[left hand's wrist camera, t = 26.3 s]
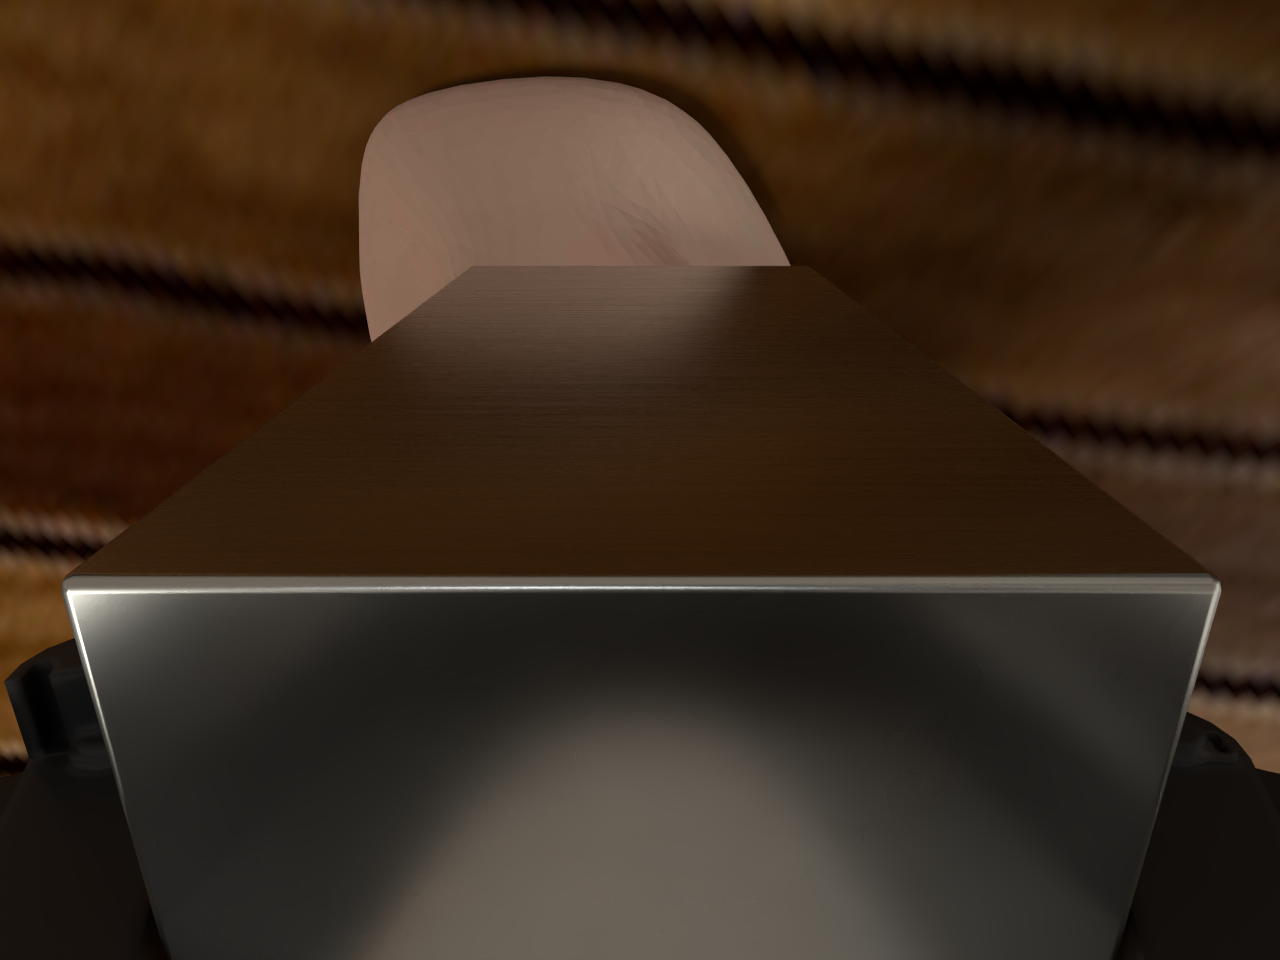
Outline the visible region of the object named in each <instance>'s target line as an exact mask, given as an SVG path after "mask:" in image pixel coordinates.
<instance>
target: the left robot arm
mask: <svg viewBox="0 0 1280 960" xmlns="http://www.w3.org/2000/svg"><path fill="white" fill-rule="evenodd" d="M4 682H5V685H6V689H7V692H8V695H9V698H10V701H11V704H12V707H13V710H14V713H15V716H16V719H17V722H18V725H19V728H20V731H21V734H22V737H23V740H24V743H25V747H26V750H27V753H28V756H29V759H30V760H29V762H28V764H27V766H26V768H25V770H24V772H23V773H19V774H15V775H11V776H6V777H1V778H0V960H166V957H165V953H164V950H163V946H162V943H161V939H160V936H159V932H158V929H157V925H156V922H155V918H154V914H153V911H152V907H151V904H150V900H149V897H148V893H147V890H146V886H145V883H144V879H143V876H142V872H141V869H140V865H139V862H138V858H137V855H136V851H135V848H134V844H133V841H132V837H131V834H130V830H129V827H128V823H127V820H126V816H125V813H124V809H123V806H122V802H121V799H120V795H119V792H118V788H117V785H116V781H115V778H114V774H113V771H112V767H111V764H110V760H109V757H108V753H107V750H106V746H105V743H104V739H103V736H102V732H101V729H100V725H99V722H98V718H97V714H96V711H95V707H94V704H93V700H92V697H91V693H90V690H89V686H88V683H87V679H86V676H85V672H84V669H83V665H82V662H81V658H80V655H79V651H78V648H77V644H76V641H75V638H73V639H71V640H68V641H66V642H63V643H60V644H58V645H55V646H53V647H50V648H48V649H46V650H44V651H42V652H41V653H39V654H37V655H36V656H34V657H32V658H31V659H29V660H27V661H26V662H24V663H22V664H21V665H20V666H19V667H18V668H17V669H16V670H15V671H14V672H13V673H12V674H11V675H10V676H9V677H8V678H7V679H6V680H5V681H4ZM1116 960H1280V774H1278V773H1273V772H1268V771H1265V770H1261V769H1257V768H1255V766H1254V764H1253V762H1252V760H1251V758H1250V757H1249V756H1248V755H1247V753H1246V752H1245V751H1244V750H1243V749H1242V747H1241V746H1240V745H1239V744H1238V742H1237V741H1236V740H1235V739H1234V738H1232V737H1231V736H1229V735H1228V734H1227V733H1225V732H1224V731H1222V730H1221V729H1219V728H1218V727H1217V726H1215V725H1214V724H1212V723H1211V722H1209V721H1206V720H1204V719H1202V718H1200V717H1198V716H1195V715H1193V714H1191V713H1189V712H1187V713H1186V716H1185V720H1184V723H1183V727H1182V730H1181V734H1180V737H1179V741H1178V744H1177V747H1176V751H1175V754H1174V758H1173V761H1172V765H1171V768H1170V772H1169V775H1168V779H1167V782H1166V786H1165V789H1164V793H1163V796H1162V800H1161V803H1160V807H1159V810H1158V814H1157V817H1156V821H1155V824H1154V827H1153V831H1152V834H1151V838H1150V841H1149V845H1148V848H1147V852H1146V855H1145V859H1144V862H1143V866H1142V869H1141V873H1140V876H1139V880H1138V883H1137V887H1136V890H1135V894H1134V897H1133V901H1132V904H1131V908H1130V911H1129V914H1128V918H1127V921H1126V925H1125V928H1124V932H1123V935H1122V939H1121V942H1120V946H1119V949H1118V953H1117V956H1116Z"/></svg>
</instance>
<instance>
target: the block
mask: <svg viewBox="0 0 1280 960" xmlns="http://www.w3.org/2000/svg"><path fill="white" fill-rule="evenodd" d="M1220 594H1221V586H1220V581H1219V579H1218V577H1217V576H1216V575H1215V574H1214V573H1212V572H1211V571H1210V570H1208V569H1207V568H1206V567H1204V566H1203V565H1202V564H1201V563H1199V562H1198V561H1197V560H1195V559H1194V558H1193V557H1191V556H1190V555H1189V554H1187V553H1186V552H1185V551H1183V550H1182V549H1181V548H1179V547H1178V546H1177V545H1175V544H1174V543H1173V542H1172V541H1170V540H1169V539H1168V538H1166V537H1165V536H1164V535H1162V534H1161V533H1160V532H1158V531H1157V530H1156V529H1154V528H1153V527H1152V526H1150V525H1149V524H1148V523H1147V522H1145V521H1144V520H1143V519H1141V518H1140V517H1139V516H1137V515H1136V514H1135V513H1133V512H1132V511H1131V510H1129V509H1128V508H1127V507H1125V506H1124V505H1123V504H1121V503H1120V502H1119V501H1118V500H1116V499H1115V498H1114V497H1112V496H1111V495H1110V494H1108V493H1107V492H1106V491H1104V490H1103V489H1102V488H1100V487H1099V486H1098V485H1096V484H1095V483H1094V482H1092V481H1091V480H1090V479H1089V478H1087V477H1086V476H1085V475H1083V474H1082V473H1081V472H1079V471H1078V470H1077V469H1075V468H1074V467H1073V466H1071V465H1070V464H1069V463H1067V462H1066V461H1065V460H1064V459H1062V458H1061V457H1060V456H1058V455H1057V454H1056V453H1054V452H1053V451H1052V450H1050V449H1049V448H1048V447H1046V446H1045V445H1044V444H1042V443H1041V442H1040V441H1038V440H1037V439H1036V438H1035V437H1033V436H1032V435H1031V434H1029V433H1028V432H1027V431H1025V430H1024V429H1023V428H1021V427H1020V426H1019V425H1017V424H1016V423H1015V422H1013V421H1012V420H1011V419H1009V418H1008V417H1007V416H1006V415H1004V414H1003V413H1002V412H1000V411H999V410H998V409H996V408H995V407H994V406H992V405H991V404H990V403H988V402H987V401H986V400H984V399H983V398H982V397H980V396H979V395H978V394H977V393H975V392H974V391H973V390H971V389H970V388H969V387H967V386H966V385H965V384H963V383H962V382H961V381H959V380H958V379H957V378H955V377H954V376H953V375H952V374H950V373H949V372H948V371H946V370H945V369H944V368H942V367H941V366H940V365H938V364H937V363H936V362H934V361H933V360H932V359H930V358H929V357H928V356H926V355H925V354H924V353H923V352H921V351H920V350H919V349H917V348H916V347H915V346H913V345H912V344H911V343H909V342H908V341H907V340H905V339H904V338H903V337H901V336H900V335H899V334H897V333H896V332H895V331H894V330H892V329H891V328H890V327H888V326H887V325H886V324H884V323H883V322H882V321H880V320H879V319H878V318H876V317H875V316H874V315H872V314H871V313H870V312H869V311H867V310H866V309H865V308H863V307H862V306H861V305H859V304H858V303H857V302H855V301H854V300H853V299H851V298H850V297H849V296H847V295H846V294H845V293H843V292H842V291H841V290H840V289H838V288H837V287H836V286H834V285H833V284H832V283H830V282H829V281H828V280H826V279H825V278H824V277H822V276H821V275H820V274H818V273H817V272H816V271H814V270H813V269H812V268H811V267H808V266H471V267H469V268H468V269H467V270H465V271H464V272H463V273H462V274H460V275H459V276H458V277H456V278H455V279H454V280H452V281H451V282H450V283H448V284H447V285H446V286H445V287H443V288H442V289H441V290H439V291H438V292H437V293H435V294H434V295H433V296H431V297H430V298H429V299H428V300H426V301H425V302H424V303H422V304H421V305H420V306H418V307H417V308H416V309H414V310H413V311H412V312H411V313H409V314H408V315H407V316H405V317H404V318H403V319H401V320H400V321H399V322H397V323H396V324H395V325H393V326H392V327H391V328H390V329H388V330H387V331H386V332H384V333H383V334H382V335H380V336H379V337H378V338H376V339H375V340H374V341H373V342H371V343H370V344H369V345H367V346H366V347H365V348H363V349H362V350H361V351H359V352H358V353H357V354H356V355H354V356H353V357H352V358H350V359H349V360H348V361H346V362H345V363H344V364H342V365H341V366H340V367H339V368H337V369H336V370H335V371H333V372H332V373H331V374H329V375H328V376H327V377H325V378H324V379H323V380H321V381H320V382H319V383H318V384H316V385H315V386H314V387H312V388H311V389H310V390H308V391H307V392H306V393H304V394H303V395H302V396H301V397H299V398H298V399H297V400H295V401H294V402H293V403H291V404H290V405H289V406H287V407H286V408H285V409H284V410H282V411H281V412H280V413H278V414H277V415H276V416H274V417H273V418H272V419H270V420H269V421H268V422H267V423H265V424H264V425H263V426H261V427H260V428H259V429H257V430H256V431H255V432H253V433H252V434H251V435H249V436H248V437H247V438H246V439H244V440H243V441H242V442H240V443H239V444H238V445H236V446H235V447H234V448H232V449H231V450H230V451H229V452H227V453H226V454H225V455H223V456H222V457H221V458H219V459H218V460H217V461H215V462H214V463H213V464H212V465H210V466H209V467H208V468H206V469H205V470H204V471H202V472H201V473H200V474H198V475H197V476H196V477H195V478H193V479H192V480H191V481H189V482H188V483H187V484H185V485H184V486H183V487H181V488H180V489H179V490H177V491H176V492H175V493H174V494H172V495H171V496H170V497H168V498H167V499H166V500H164V501H163V502H162V503H160V504H159V505H158V506H157V507H155V508H154V509H153V510H151V511H150V512H149V513H147V514H146V515H145V516H143V517H142V518H141V519H140V520H138V521H137V522H136V523H134V524H133V525H132V526H130V527H129V528H128V529H126V530H125V531H124V532H123V533H121V534H120V535H119V536H117V537H116V538H115V539H113V540H112V541H111V542H109V543H108V544H107V545H105V546H104V547H103V548H102V549H100V550H99V551H98V552H96V553H95V554H94V555H92V556H91V557H90V558H88V559H87V560H86V561H85V562H83V563H82V564H81V565H79V566H78V567H77V568H75V569H74V570H73V571H71V572H70V573H69V574H68V575H66V577H65V579H64V581H63V583H62V595H63V599H64V602H65V606H66V609H67V613H68V616H69V620H70V623H71V627H72V630H73V634H74V637H75V641H76V644H77V648H78V651H79V655H80V658H81V662H82V665H83V669H84V672H85V676H86V679H87V683H88V686H89V690H90V693H91V697H92V700H93V704H94V707H95V711H96V714H97V718H98V722H99V725H100V729H101V732H102V736H103V739H104V743H105V746H106V750H107V753H108V757H109V760H110V764H111V767H112V771H113V774H114V778H115V781H116V785H117V788H118V792H119V795H120V799H121V802H122V806H123V809H124V813H125V816H126V820H127V823H128V827H129V830H130V834H131V837H132V841H133V844H134V848H135V851H136V855H137V858H138V862H139V865H140V869H141V872H142V876H143V879H144V883H145V886H146V890H147V893H148V897H149V900H150V904H151V907H152V911H153V914H154V918H155V922H156V925H157V929H158V932H159V936H160V939H161V943H162V946H163V950H164V953H165V957H166V960H1116V956H1117V953H1118V949H1119V946H1120V942H1121V939H1122V935H1123V932H1124V928H1125V925H1126V921H1127V918H1128V914H1129V911H1130V908H1131V904H1132V901H1133V897H1134V894H1135V890H1136V887H1137V883H1138V880H1139V876H1140V873H1141V869H1142V866H1143V862H1144V859H1145V855H1146V852H1147V848H1148V845H1149V841H1150V838H1151V834H1152V831H1153V827H1154V824H1155V821H1156V817H1157V814H1158V810H1159V807H1160V803H1161V800H1162V796H1163V793H1164V789H1165V786H1166V782H1167V779H1168V775H1169V772H1170V768H1171V765H1172V761H1173V758H1174V754H1175V751H1176V747H1177V744H1178V741H1179V737H1180V734H1181V730H1182V727H1183V723H1184V720H1185V716H1186V713H1187V709H1188V706H1189V702H1190V699H1191V695H1192V692H1193V688H1194V685H1195V681H1196V678H1197V674H1198V671H1199V667H1200V664H1201V660H1202V657H1203V654H1204V650H1205V647H1206V643H1207V640H1208V636H1209V633H1210V629H1211V626H1212V622H1213V619H1214V615H1215V612H1216V608H1217V605H1218V601H1219V598H1220Z"/></svg>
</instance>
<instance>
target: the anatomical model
mask: <svg viewBox="0 0 1280 960" xmlns="http://www.w3.org/2000/svg"><path fill="white" fill-rule="evenodd" d="M359 257H360V277H361V285H362V292H363V299H364V304H365V310H366V316H367V321H368V327H369V332H370V337H371V341H372V342H373V341H374V340H375V339H376V338H378V337H379V336H380V335H382V334H383V333H384V332H386V331H387V330H388V329H390V328H391V327H392V326H393V325H395V324H396V323H397V322H399V321H400V320H401V319H403V318H404V317H405V316H407V315H408V314H409V313H411V312H412V311H413V310H414V309H416V308H417V307H418V306H420V305H421V304H422V303H424V302H425V301H426V300H428V299H429V298H430V297H431V296H433V295H434V294H435V293H437V292H438V291H439V290H441V289H442V288H443V287H445V286H446V285H447V284H448V283H450V282H451V281H452V280H454V279H455V278H456V277H458V276H459V275H460V274H462V273H463V272H464V271H465V270H467V269H468V268H469V267H471V266H791V265H790V263H789V261H788V259H787V257H786V255H785V253H784V251H783V249H782V247H781V245H780V243H779V241H778V239H777V238H776V236H775V234H774V232H773V230H772V228H771V226H770V224H769V222H768V220H767V218H766V216H765V215H764V213H763V211H762V210H761V208H760V206H759V204H758V203H757V201H756V199H755V198H754V196H753V194H752V192H751V191H750V189H749V187H748V186H747V184H746V183H745V181H744V180H743V178H742V177H741V175H740V174H739V172H738V171H737V170H736V168H735V167H734V165H733V164H732V162H731V161H730V159H729V158H728V156H727V155H726V154H725V152H724V151H723V150H722V149H721V148H720V146H719V145H718V144H717V143H716V141H715V140H714V139H713V138H712V137H711V135H710V134H709V133H708V132H707V131H706V130H705V129H704V128H703V127H702V126H701V125H700V124H699V123H698V122H697V121H695V120H694V119H693V118H692V117H690V116H689V115H688V114H687V113H685V112H684V111H682V110H681V109H679V108H678V107H676V106H675V105H673V104H672V103H670V102H669V101H667V100H665V99H663V98H661V97H658V96H656V95H654V94H651V93H649V92H647V91H644V90H642V89H639V88H635V87H632V86H628V85H625V84H621V83H616V82H609V81H602V80H595V79H588V78H577V77H549V76H544V77H529V78H514V79H501V80H494V81H487V82H479V83H472V84H465V85H459V86H455V87H451V88H447V89H443V90H438V91H434V92H430V93H427V94H424V95H421V96H419V97H416V98H413V99H410V100H408V101H406V102H404V103H402V104H400V105H398V106H397V107H395V108H394V109H392V110H391V111H390V112H388V113H387V114H386V115H385V116H384V117H383V118H382V120H381V121H380V122H379V123H378V125H377V126H376V127H375V129H374V131H373V132H372V134H371V136H370V138H369V141H368V143H367V146H366V149H365V153H364V157H363V162H362V168H361V179H360V190H359Z"/></svg>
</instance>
